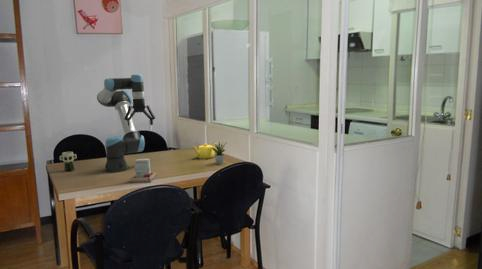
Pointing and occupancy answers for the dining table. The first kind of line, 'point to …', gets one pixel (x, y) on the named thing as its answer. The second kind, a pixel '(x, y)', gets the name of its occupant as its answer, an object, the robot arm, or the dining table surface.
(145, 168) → the ink box
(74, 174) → the dining table surface
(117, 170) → the robot arm
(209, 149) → the teapot
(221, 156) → the house plant
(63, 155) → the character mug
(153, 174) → the holder
